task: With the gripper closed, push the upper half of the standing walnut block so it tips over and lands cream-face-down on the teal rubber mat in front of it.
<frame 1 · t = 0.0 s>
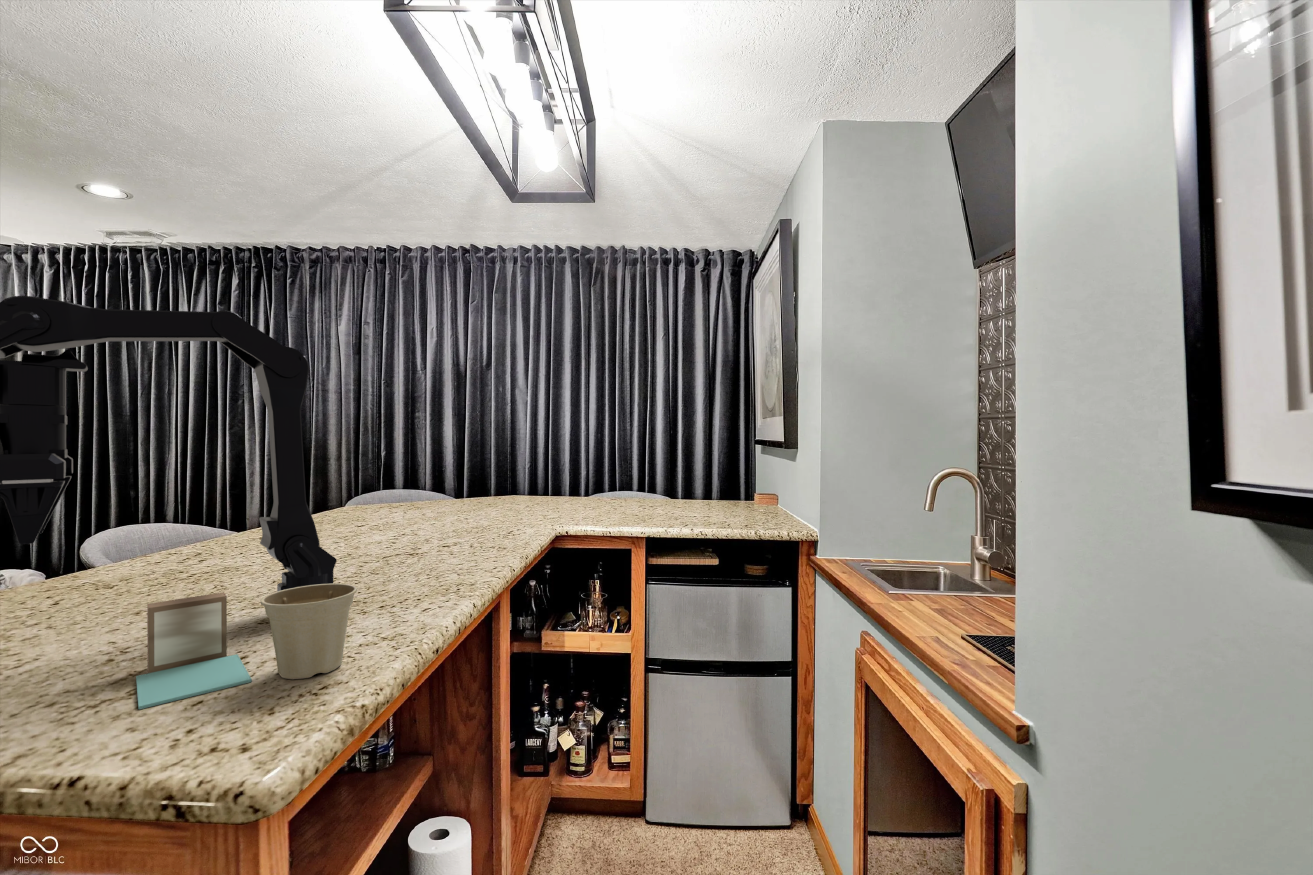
hand: (31, 538, 67), 15 cm above the counter, tool pointing down, fingers open, 9 cm apart
flower pot: (310, 670, 64), on the counter
teal mat: (193, 680, 61), on the counter
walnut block: (188, 663, 66), on the counter
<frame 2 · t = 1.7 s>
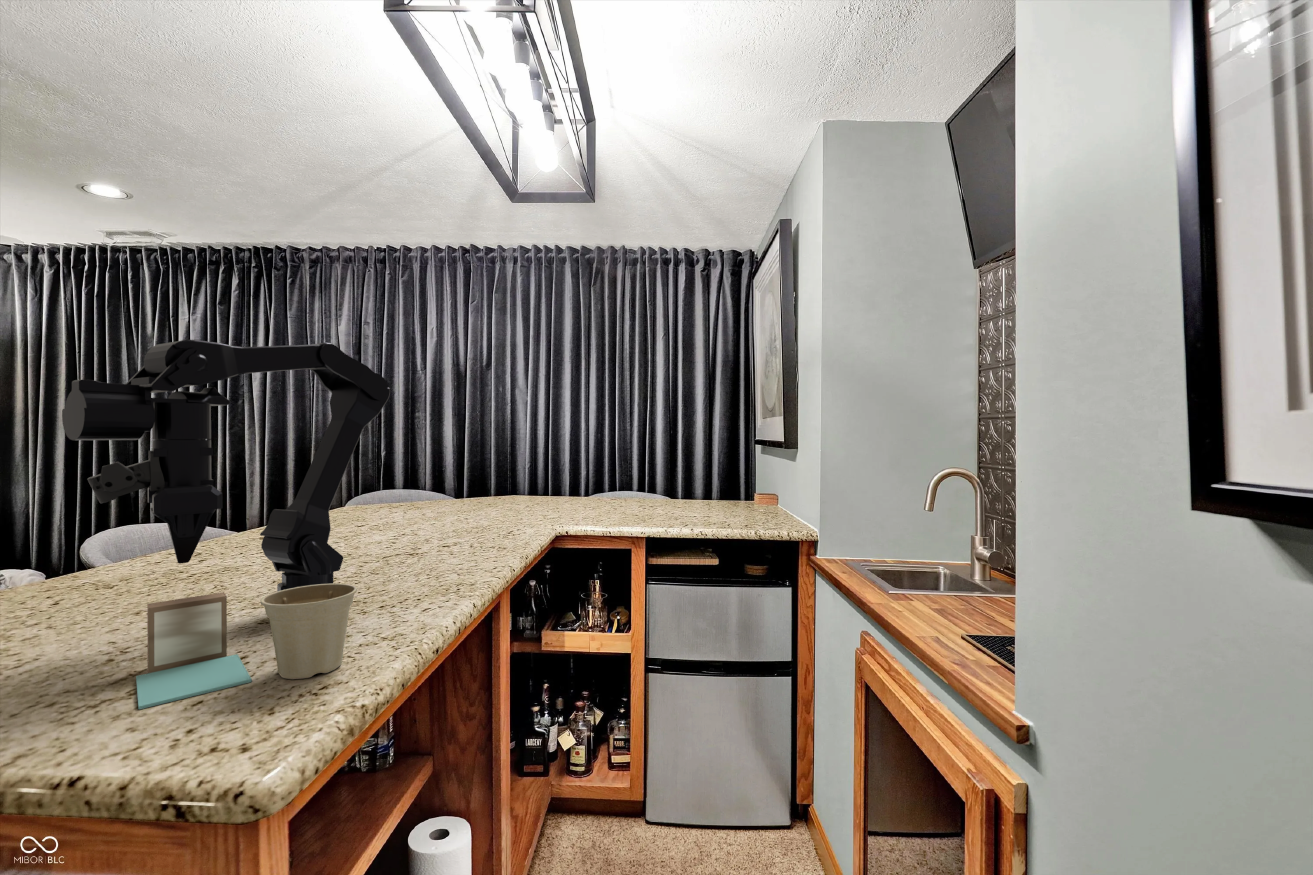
hand: (183, 562, 72), 11 cm above the counter, tool pointing down, fingers closed
nothing on the counter moved.
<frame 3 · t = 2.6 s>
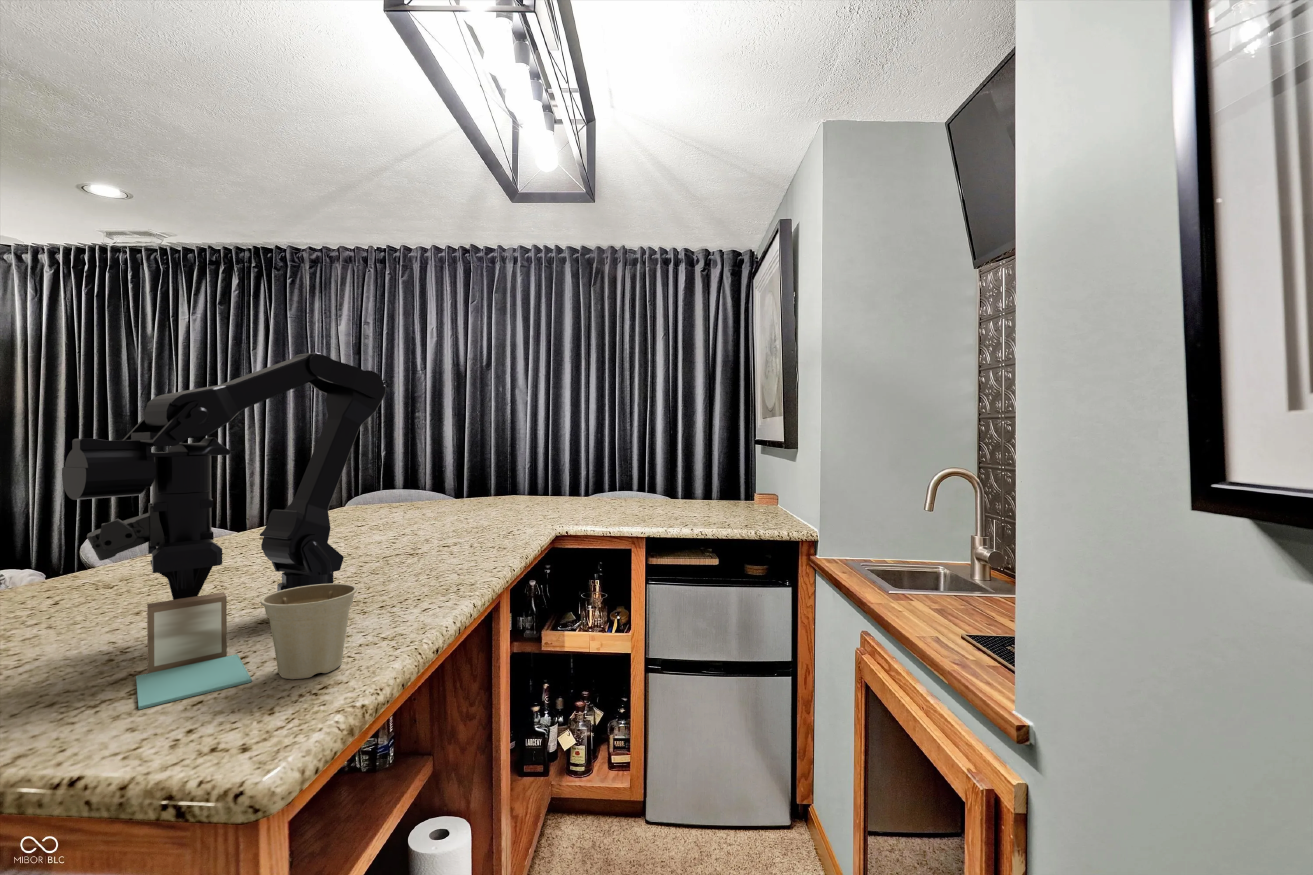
hand: (182, 615, 71), 4 cm above the counter, tool pointing down, fingers closed
nothing on the counter moved.
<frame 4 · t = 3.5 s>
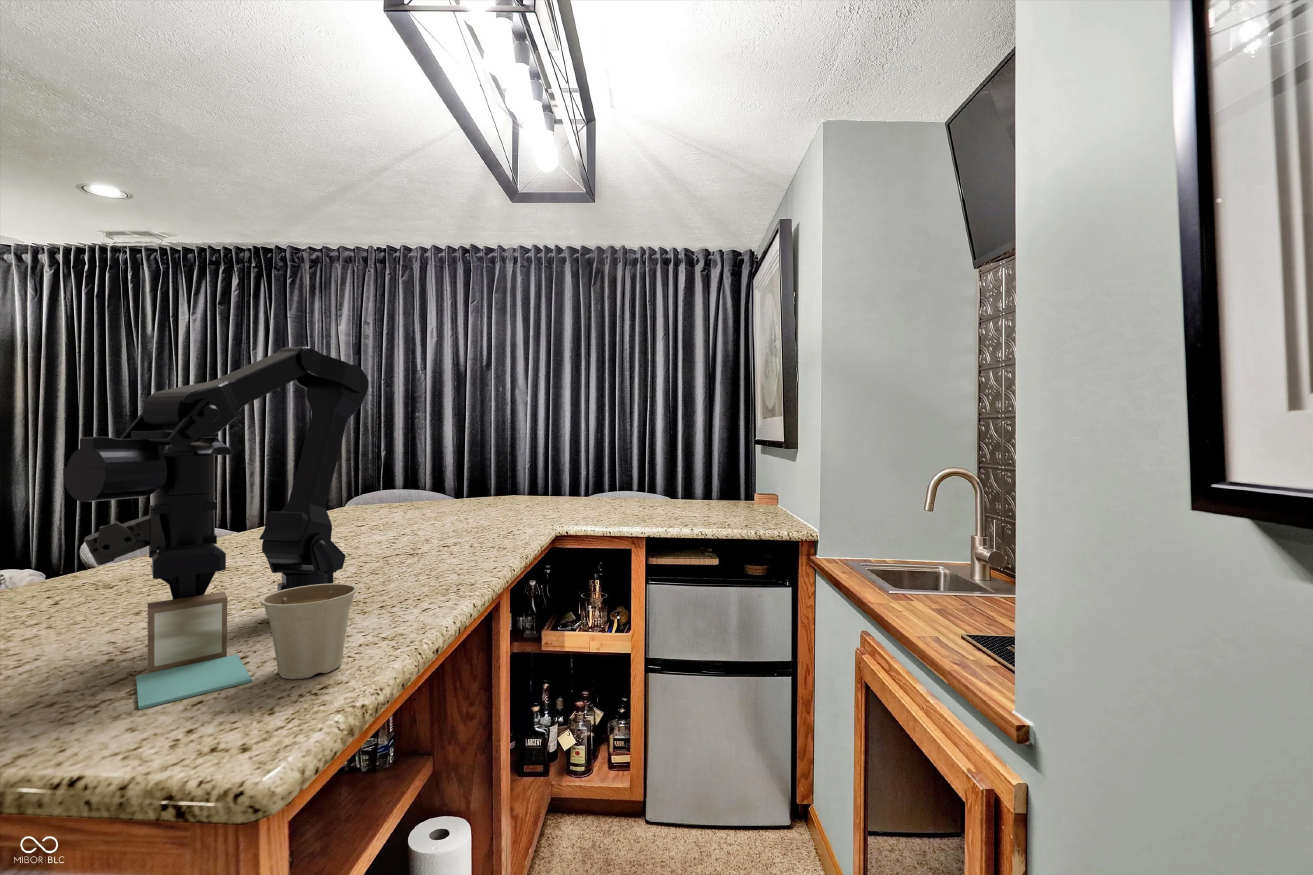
hand: (184, 622, 68), 4 cm above the counter, tool pointing down, fingers closed
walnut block: (188, 662, 66), on the counter, touching gripper
everything else where it was.
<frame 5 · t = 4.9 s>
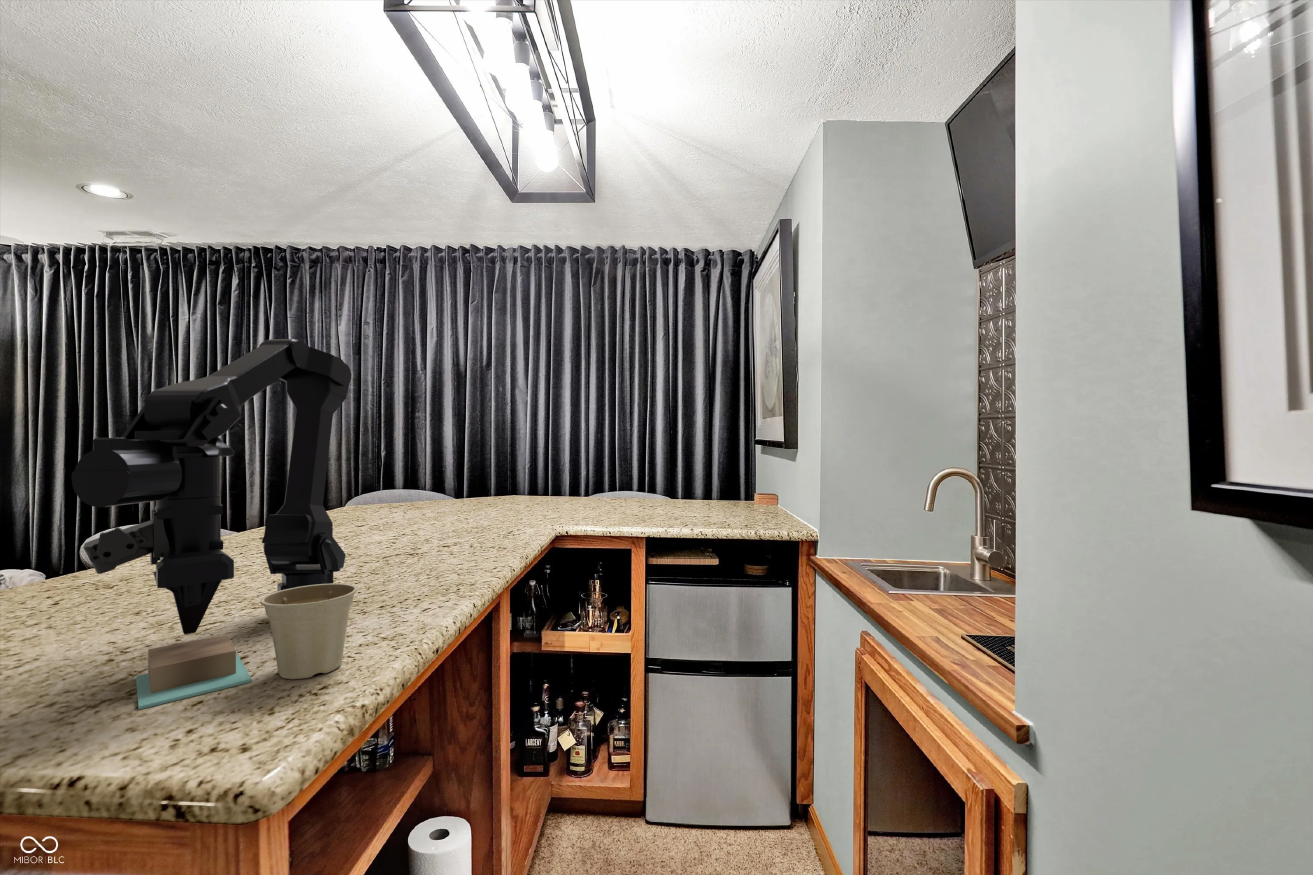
hand: (189, 632, 65), 4 cm above the counter, tool pointing down, fingers closed
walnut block: (188, 652, 65), point 2 cm above the counter, tilted 90°, touching teal mat
everything else where it was.
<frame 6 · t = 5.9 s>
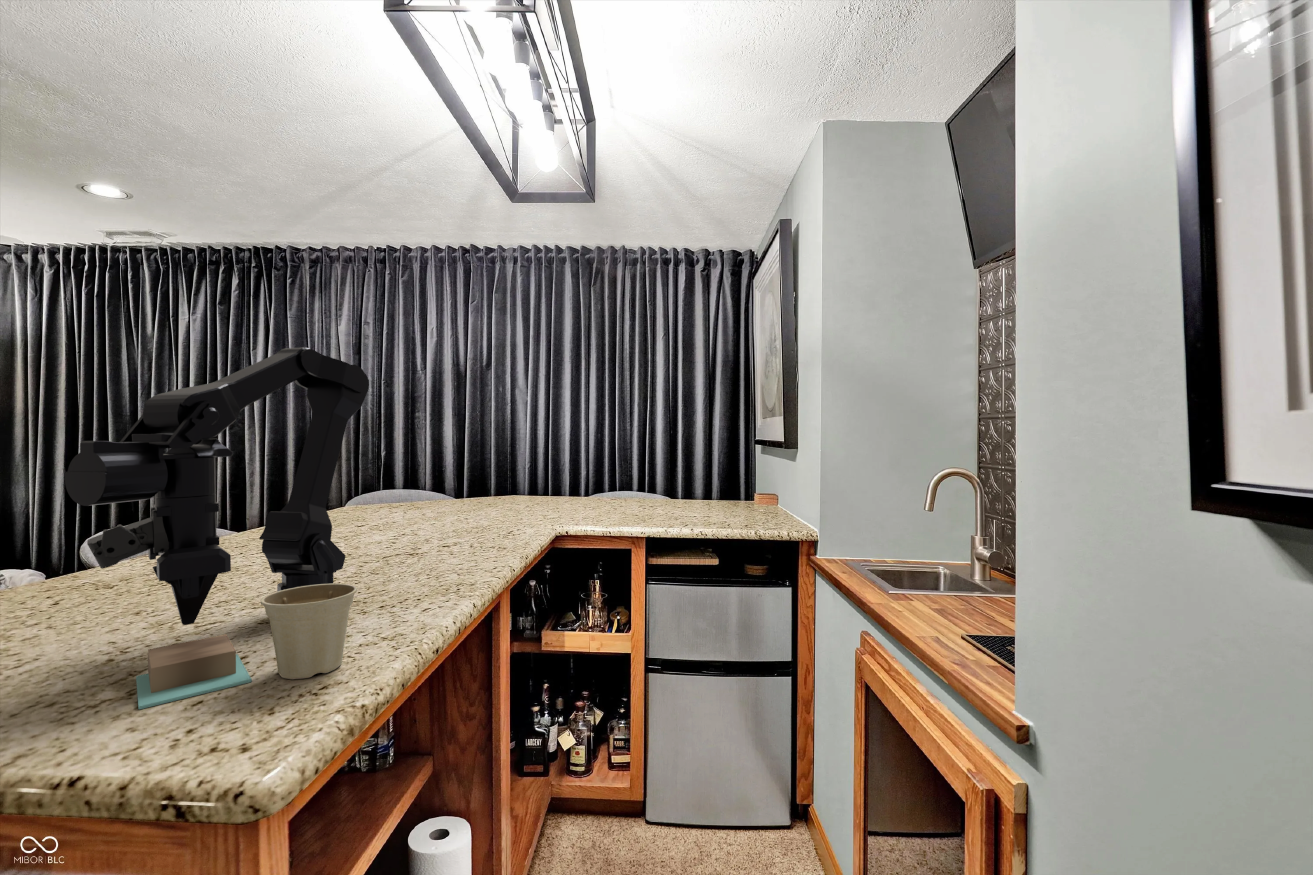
hand: (188, 623, 69), 4 cm above the counter, tool pointing down, fingers closed
nothing on the counter moved.
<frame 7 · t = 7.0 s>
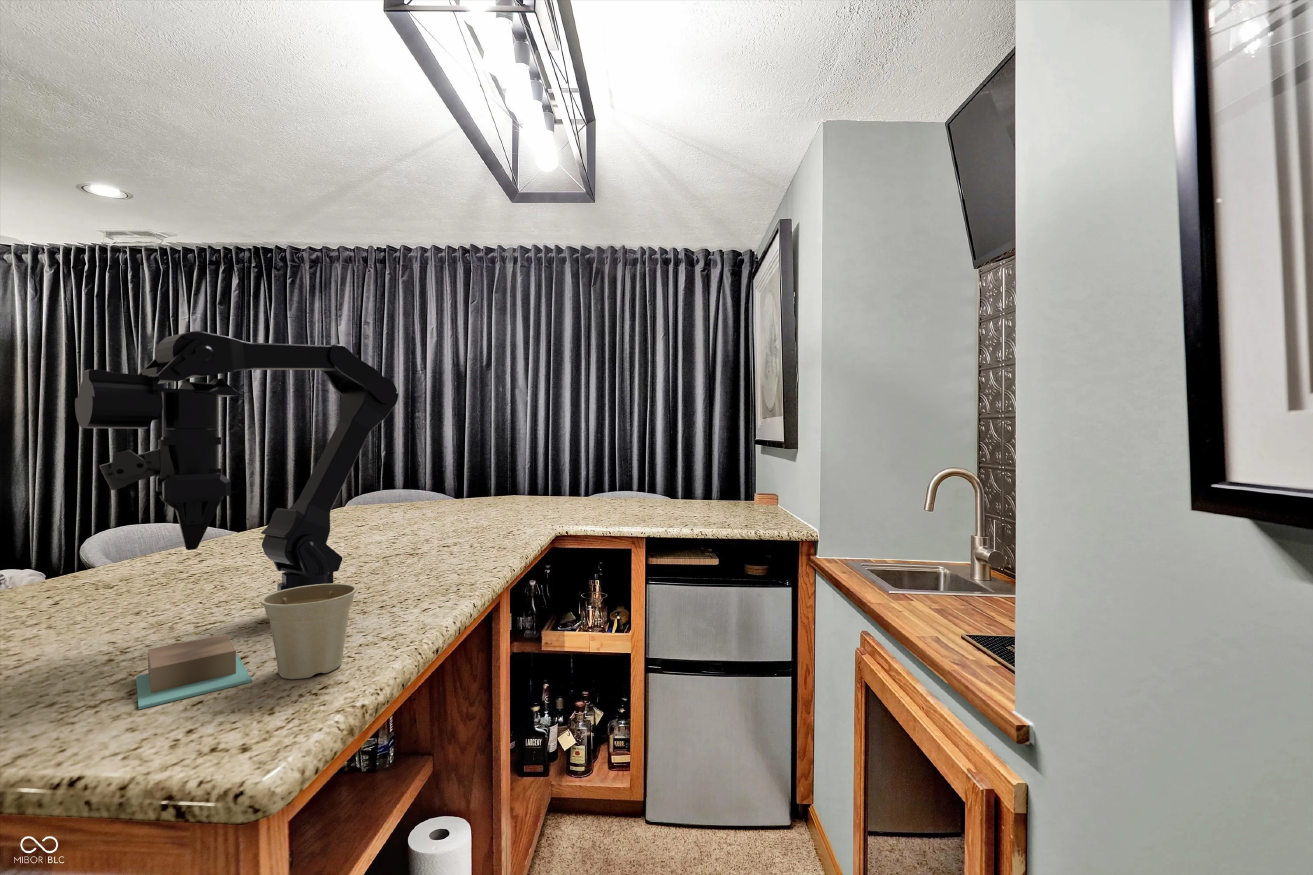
hand: (191, 549, 73), 12 cm above the counter, tool pointing down, fingers closed
nothing on the counter moved.
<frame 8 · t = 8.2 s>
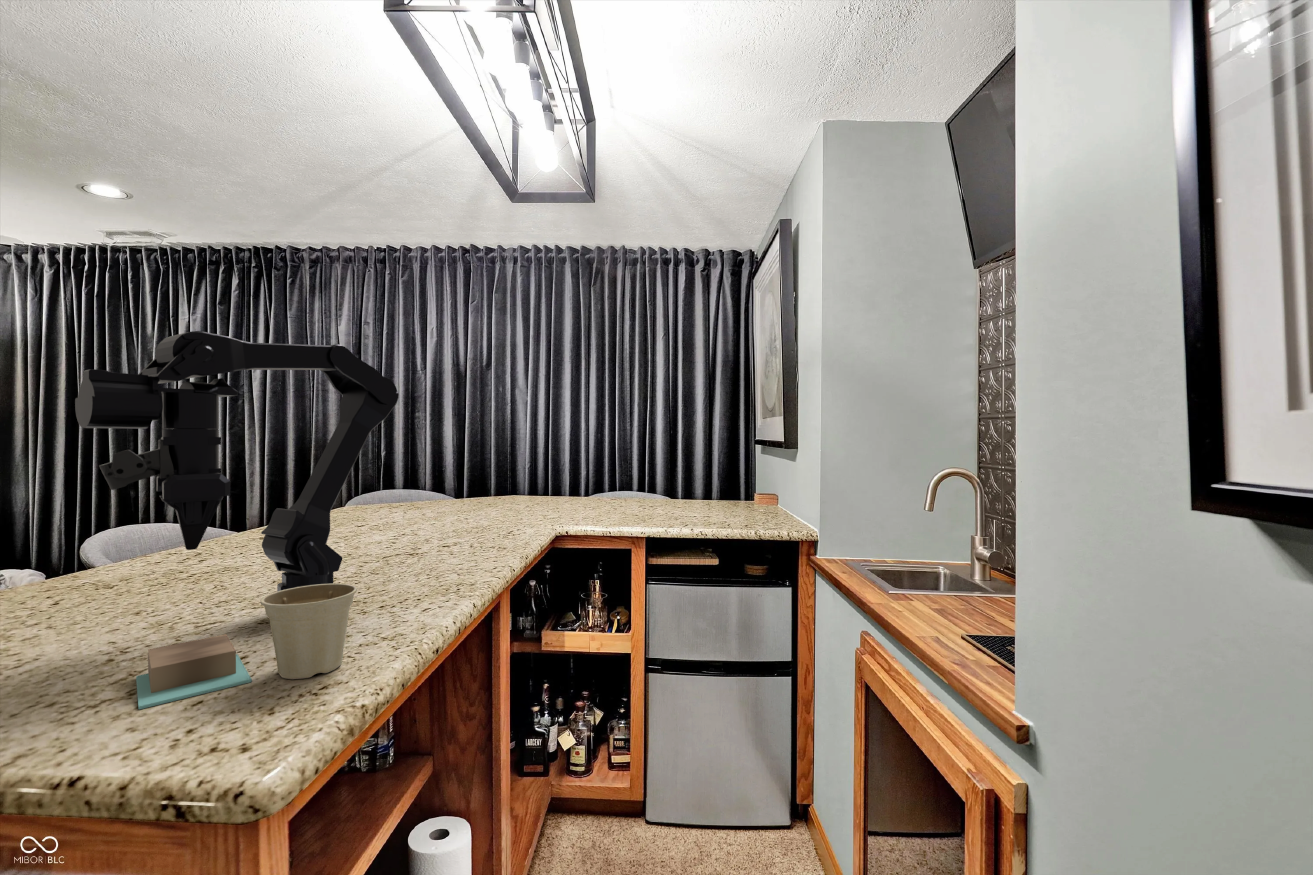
hand: (191, 549, 73), 12 cm above the counter, tool pointing down, fingers closed
nothing on the counter moved.
at the end: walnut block tilted 90°; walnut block inside the target area (4.5 cm from its centre), point 1.6 cm above the counter; the gripper is holding nothing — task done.
